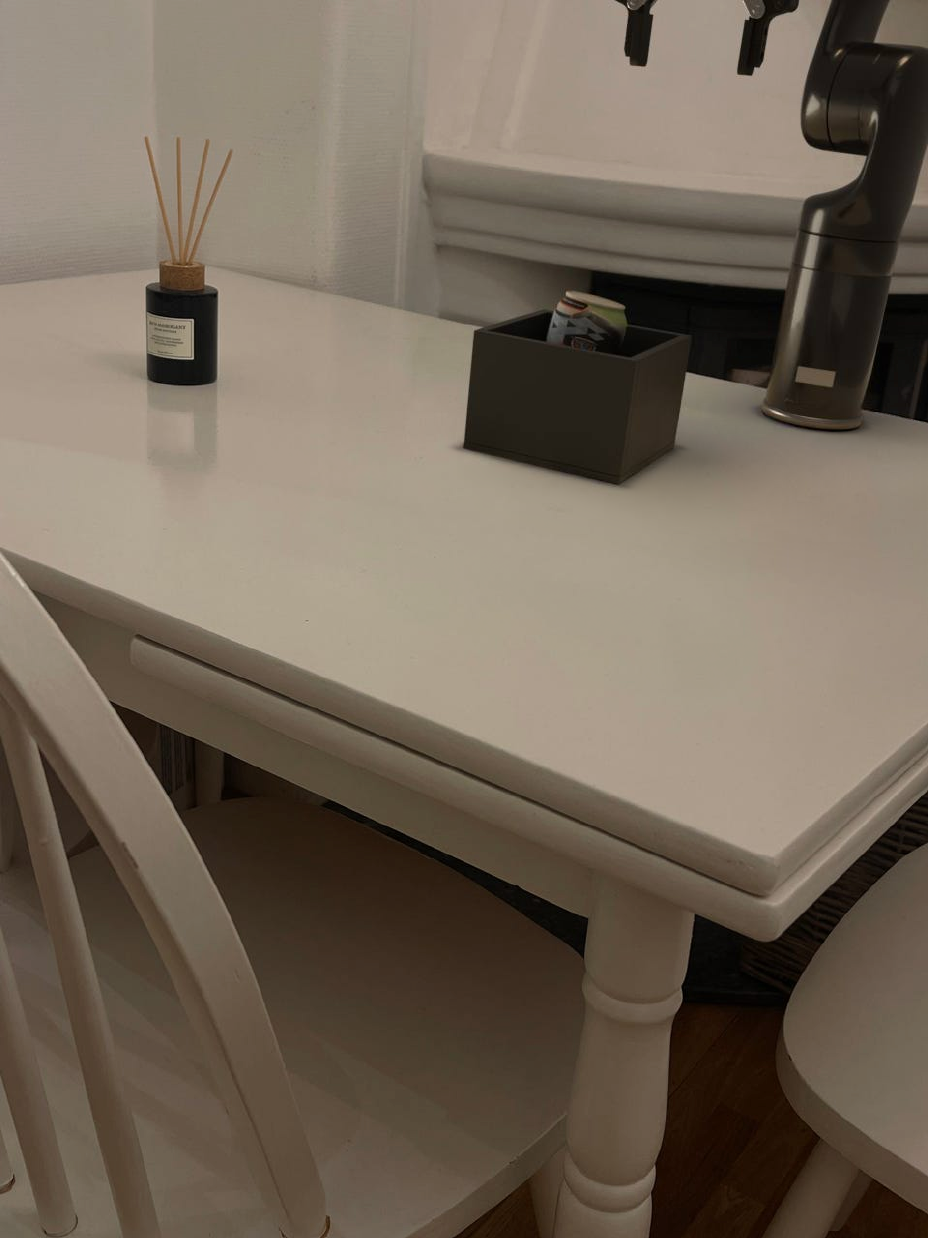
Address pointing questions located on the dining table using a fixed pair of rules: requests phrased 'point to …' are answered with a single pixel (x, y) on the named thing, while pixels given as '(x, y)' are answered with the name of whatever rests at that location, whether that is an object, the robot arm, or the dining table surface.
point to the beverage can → (588, 323)
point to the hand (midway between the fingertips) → (690, 70)
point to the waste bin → (574, 398)
